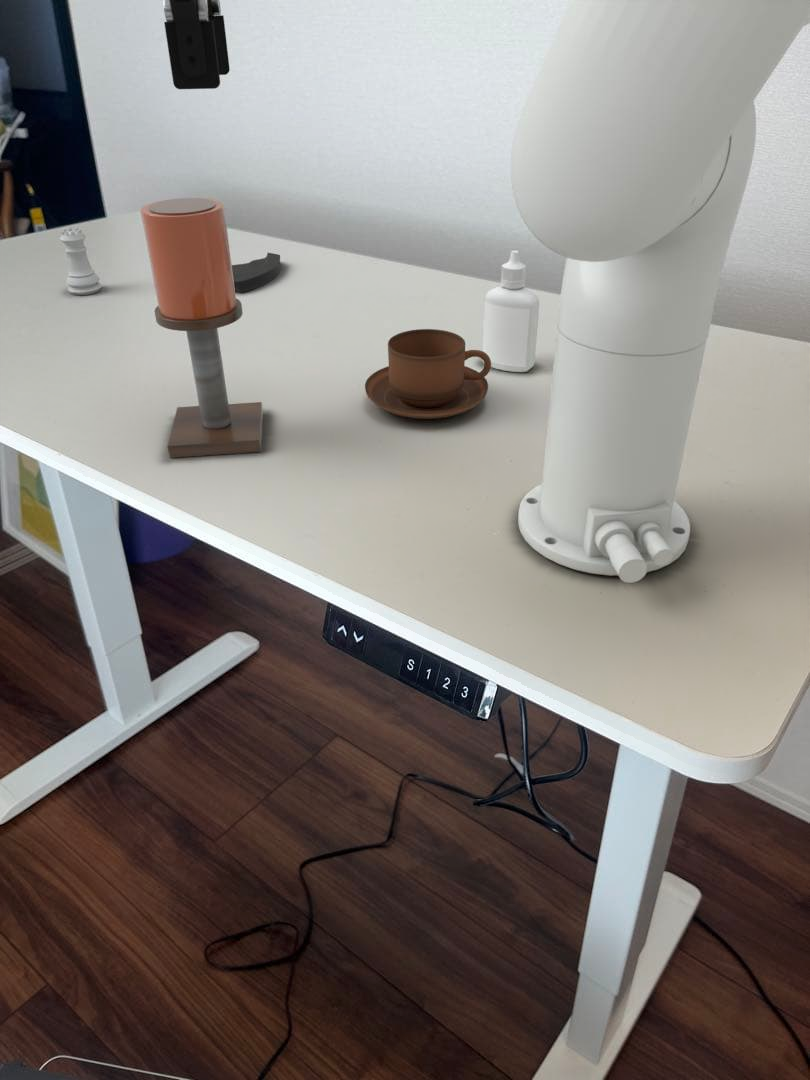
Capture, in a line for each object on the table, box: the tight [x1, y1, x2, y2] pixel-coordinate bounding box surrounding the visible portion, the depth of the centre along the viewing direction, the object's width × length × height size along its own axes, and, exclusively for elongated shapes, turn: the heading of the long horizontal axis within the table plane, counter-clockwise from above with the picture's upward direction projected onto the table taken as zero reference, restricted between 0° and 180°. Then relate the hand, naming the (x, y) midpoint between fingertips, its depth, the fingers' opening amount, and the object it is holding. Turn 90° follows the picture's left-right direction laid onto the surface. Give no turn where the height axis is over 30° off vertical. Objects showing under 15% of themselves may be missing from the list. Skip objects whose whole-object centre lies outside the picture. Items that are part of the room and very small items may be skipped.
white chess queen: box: [59, 227, 103, 296], centre depth 109 cm, size 4×4×8 cm
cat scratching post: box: [154, 297, 264, 459], centre depth 72 cm, size 8×8×12 cm
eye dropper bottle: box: [481, 250, 540, 373], centre depth 85 cm, size 4×6×12 cm
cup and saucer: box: [364, 328, 492, 420], centre depth 79 cm, size 12×12×6 cm
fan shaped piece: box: [232, 252, 282, 294], centre depth 115 cm, size 8×14×2 cm, turn 147°
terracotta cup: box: [140, 197, 237, 320], centre depth 67 cm, size 6×6×8 cm
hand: (204, 81), depth 62 cm, fingers open, 9 cm apart
